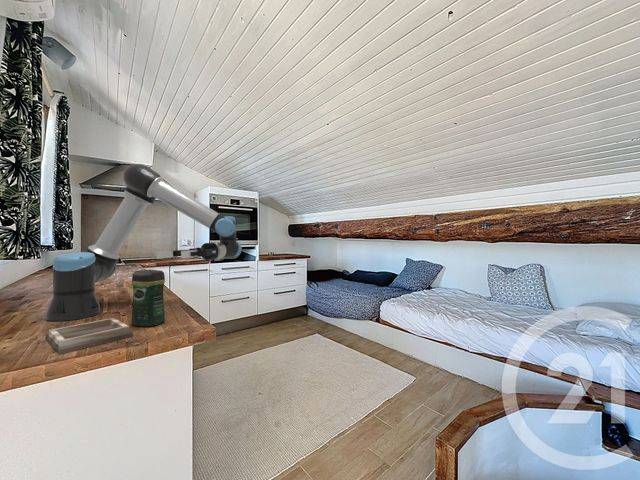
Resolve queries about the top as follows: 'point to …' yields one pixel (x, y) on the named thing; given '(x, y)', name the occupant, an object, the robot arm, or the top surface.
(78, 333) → the board
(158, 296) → the coffee jar
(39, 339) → the top surface
